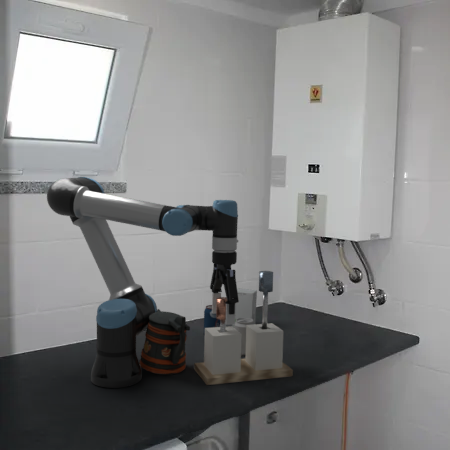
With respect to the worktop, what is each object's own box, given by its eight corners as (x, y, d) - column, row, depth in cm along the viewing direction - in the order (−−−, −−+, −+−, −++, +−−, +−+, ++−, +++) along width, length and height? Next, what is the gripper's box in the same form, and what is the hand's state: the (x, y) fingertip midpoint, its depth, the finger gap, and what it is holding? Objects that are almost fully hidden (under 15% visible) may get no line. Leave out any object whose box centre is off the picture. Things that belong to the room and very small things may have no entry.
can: (229, 354, 204) (229, 320, 203) (238, 348, 211) (239, 315, 209) (248, 358, 201) (249, 323, 199) (257, 352, 207) (258, 318, 206)
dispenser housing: (212, 374, 178) (213, 336, 177) (204, 365, 187) (204, 328, 186) (282, 367, 186) (283, 330, 184) (270, 358, 194) (272, 323, 193)
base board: (206, 385, 175) (207, 378, 175) (194, 369, 189) (194, 363, 188) (292, 376, 184) (292, 369, 184) (274, 361, 198) (274, 355, 197)
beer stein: (201, 378, 183) (210, 316, 180) (160, 385, 175) (168, 320, 171) (170, 354, 198) (178, 297, 195) (131, 359, 190) (138, 300, 186)
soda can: (220, 341, 219) (221, 309, 218) (202, 339, 220) (202, 308, 219) (223, 335, 226) (224, 305, 224) (205, 334, 227) (206, 303, 226)
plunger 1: (217, 361, 181) (218, 300, 179) (213, 356, 185) (214, 297, 183) (231, 360, 182) (232, 299, 180) (226, 355, 186) (227, 296, 184)
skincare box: (231, 329, 235) (232, 291, 233) (236, 325, 241) (237, 287, 239) (252, 331, 232) (253, 292, 230) (256, 327, 238) (257, 289, 237)
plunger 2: (260, 333, 185) (262, 273, 183) (255, 329, 189) (257, 271, 187) (273, 332, 186) (275, 273, 184) (268, 328, 190) (269, 270, 188)
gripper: (250, 256, 170) (248, 328, 172) (223, 244, 193) (221, 308, 195) (226, 257, 167) (224, 330, 169) (201, 245, 191) (200, 309, 193)
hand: (223, 318), depth 182 cm, fingers open, 13 cm apart
